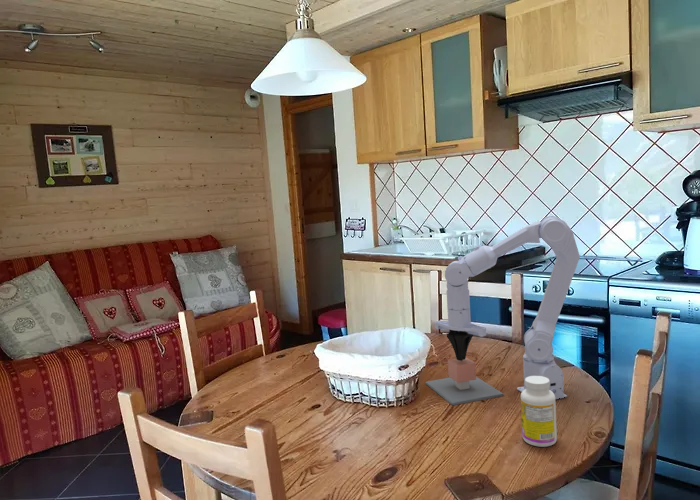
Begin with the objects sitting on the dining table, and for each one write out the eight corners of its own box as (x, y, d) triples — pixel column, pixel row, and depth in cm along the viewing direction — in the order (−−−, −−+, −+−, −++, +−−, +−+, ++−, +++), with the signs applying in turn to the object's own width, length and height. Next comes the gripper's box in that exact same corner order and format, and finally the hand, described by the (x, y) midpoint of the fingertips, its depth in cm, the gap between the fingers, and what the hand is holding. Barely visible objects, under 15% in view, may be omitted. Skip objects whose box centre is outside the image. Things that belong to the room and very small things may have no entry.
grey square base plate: (503, 395, 129) (502, 381, 128) (452, 405, 125) (451, 391, 125) (471, 375, 144) (471, 363, 144) (425, 383, 141) (424, 371, 140)
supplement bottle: (529, 430, 110) (527, 371, 109) (561, 437, 106) (559, 376, 104) (517, 442, 105) (514, 381, 103) (550, 451, 100) (548, 387, 99)
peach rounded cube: (476, 379, 133) (475, 362, 132) (457, 382, 131) (456, 365, 131) (466, 373, 138) (465, 356, 137) (448, 376, 136) (447, 359, 136)
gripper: (492, 307, 130) (494, 360, 131) (444, 302, 141) (447, 350, 142) (476, 313, 125) (478, 367, 127) (428, 307, 136) (431, 357, 137)
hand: (461, 359), depth 134 cm, fingers closed
